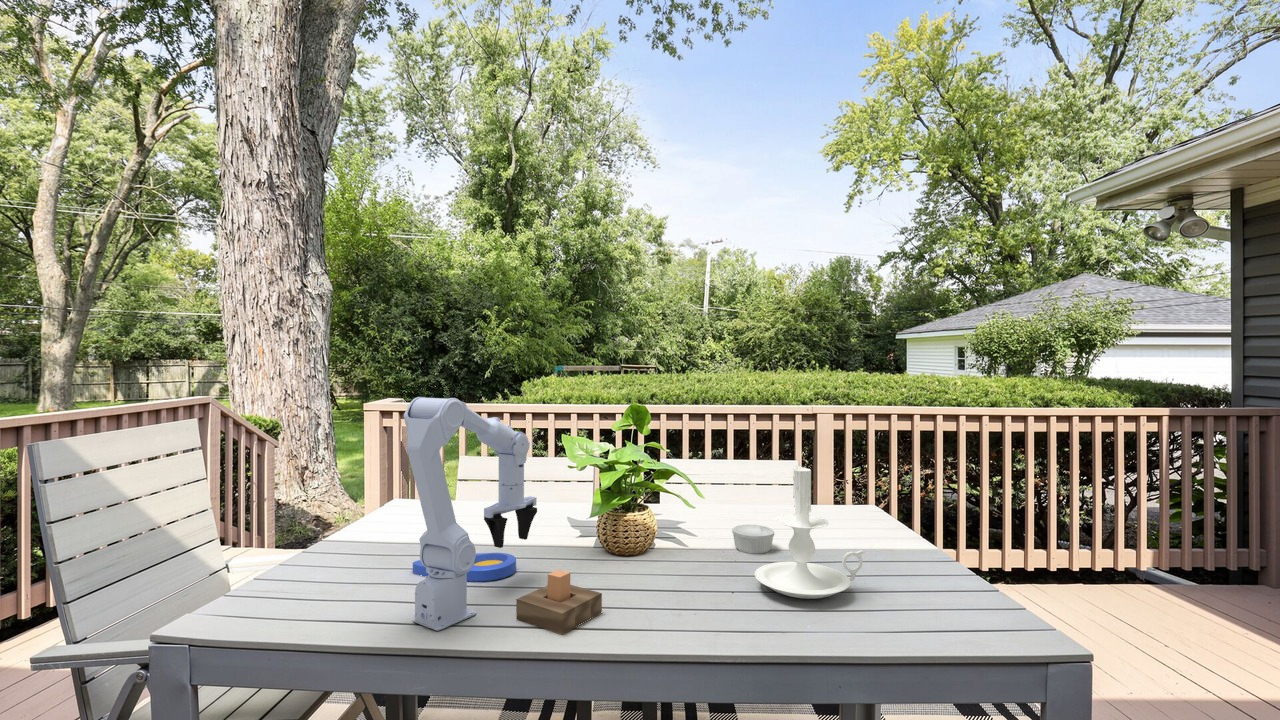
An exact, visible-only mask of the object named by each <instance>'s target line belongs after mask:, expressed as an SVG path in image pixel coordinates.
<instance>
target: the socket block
mask: <svg viewBox="0 0 1280 720" xmlns="http://www.w3.org/2000/svg"><path fill="white" fill-rule="evenodd" d="M602 593H603V592H599V591H595V590H591V589H588V588H584V587H580V586H577V585H575V584H574V585H573V584H570V598H569V599H567V600H565V601H563V602H561V603H560V602H557V601H553V600H550V599H548V584H547V585H545V586H543V587H541V588H538V589H537V590H534V591H532V592H530V593H527V594H525V595H522V596H520V597H518V598H516V600H515V601H516V602H515V603H516V607H515V609H516V613H515V614H516V615H515V617H516V619H515V620H517V621H520V622H524V623H525V624H529V625H532V626H535V627H538V628H541V629H544V630H547V631H549V632H552V633H556V634H559V635H564V634H567V633H568V632H570V631H571V630H572V631H573V629H575V628H577V627H579V626H580V625H579V624H581V623H583V622H584V623H586V622H588V621H590V620H591V619H590V618H592V617H593V618H595V617H597V616H598V614H599V615H601V614H602V613H601V612H603V598H602V596H603V594H602ZM600 613H601V614H600ZM596 615H597V616H596ZM594 616H595V617H594ZM593 618H592V619H593ZM589 619H590V620H589ZM587 620H588V621H587ZM585 621H586V622H585ZM584 623H583V624H584ZM578 625H579V626H578ZM581 625H582V624H581ZM576 626H577V627H576Z"/></svg>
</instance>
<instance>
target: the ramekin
mask: <svg viewBox="0 0 1280 720" xmlns="http://www.w3.org/2000/svg"><path fill="white" fill-rule="evenodd" d="M731 532H732V535H733V540H734V542H733V543H734V546H735V548H736V549H737V550H738V551H740V552H741V553H746V554H752V555H755V554H756V555H757V554H758V555H759V554H766V553H769V552H770V551H771V549H772V545H773V539H774V536H775V531H774V530H773V529H772V528H770V527H768V526H764V525H759V524H740V525H736V526H734V527H733V528H732V529H731Z"/></svg>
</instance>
